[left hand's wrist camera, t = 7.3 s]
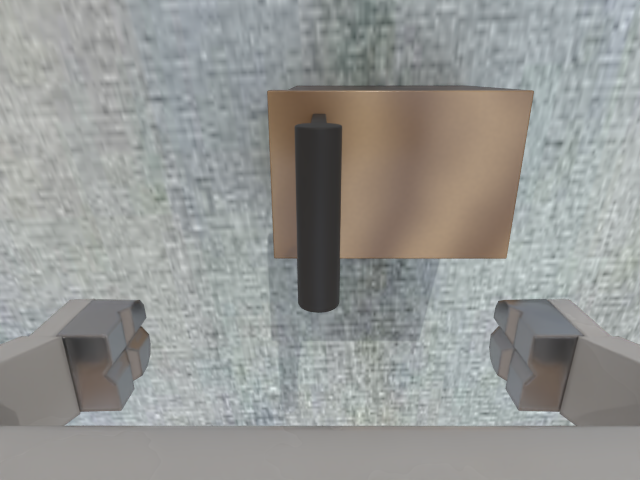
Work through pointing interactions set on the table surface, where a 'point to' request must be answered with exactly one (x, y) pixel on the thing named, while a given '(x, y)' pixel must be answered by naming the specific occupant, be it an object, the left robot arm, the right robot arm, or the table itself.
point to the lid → (391, 177)
